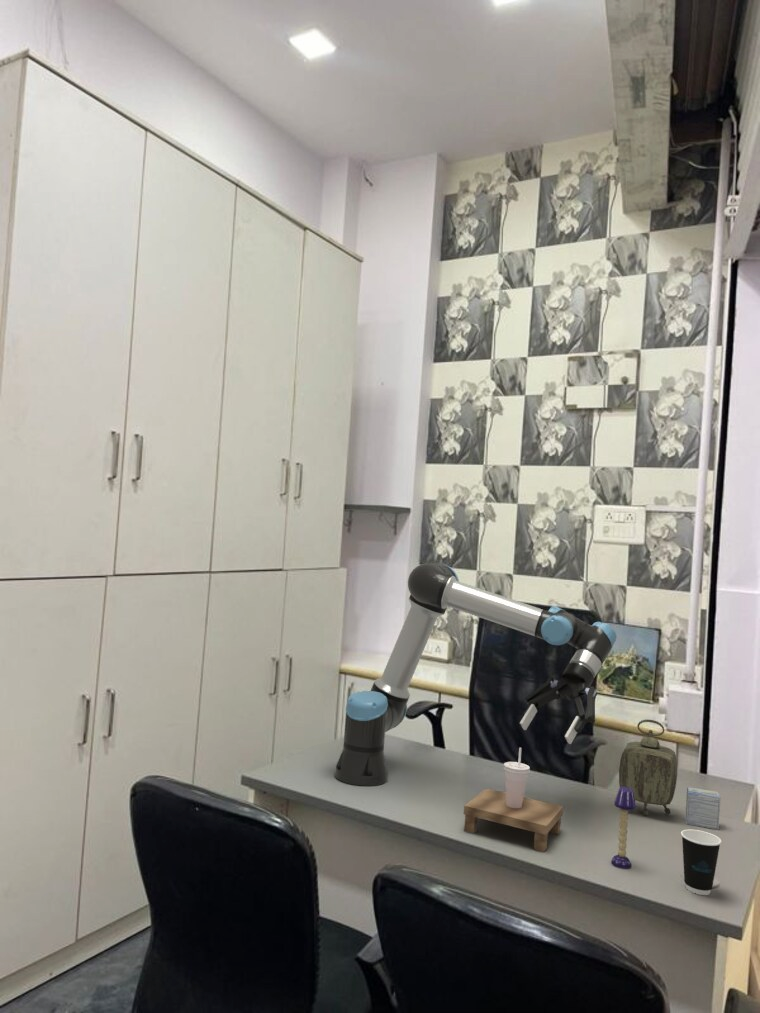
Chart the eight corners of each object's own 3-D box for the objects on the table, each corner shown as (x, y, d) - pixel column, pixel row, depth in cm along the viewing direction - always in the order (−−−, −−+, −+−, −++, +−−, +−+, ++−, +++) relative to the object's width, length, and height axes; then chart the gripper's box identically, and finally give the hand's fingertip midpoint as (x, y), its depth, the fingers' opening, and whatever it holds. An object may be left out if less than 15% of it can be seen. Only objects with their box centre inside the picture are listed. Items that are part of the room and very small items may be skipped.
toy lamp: (607, 859, 168) (612, 784, 169) (627, 860, 169) (631, 785, 170) (615, 868, 164) (620, 791, 165) (636, 869, 164) (640, 792, 165)
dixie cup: (697, 900, 151) (700, 845, 152) (669, 882, 159) (672, 830, 159) (727, 896, 154) (730, 842, 155) (698, 879, 161) (701, 828, 162)
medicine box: (717, 825, 197) (719, 791, 198) (718, 830, 193) (720, 796, 193) (685, 819, 200) (686, 786, 200) (686, 824, 195) (688, 791, 196)
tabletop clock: (675, 814, 203) (680, 721, 204) (673, 824, 195) (678, 728, 196) (619, 802, 209) (625, 712, 210) (615, 812, 201) (621, 718, 202)
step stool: (462, 830, 178) (464, 805, 179) (484, 812, 192) (485, 788, 193) (544, 852, 169) (546, 826, 169) (561, 831, 183) (563, 806, 184)
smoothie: (527, 812, 177) (531, 752, 178) (500, 808, 179) (504, 749, 180) (527, 803, 184) (531, 746, 185) (501, 799, 185) (505, 742, 186)
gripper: (628, 690, 193) (592, 756, 182) (547, 671, 211) (510, 730, 200) (619, 670, 189) (582, 736, 178) (537, 653, 207) (499, 712, 197)
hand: (544, 733), depth 189 cm, fingers open, 13 cm apart
